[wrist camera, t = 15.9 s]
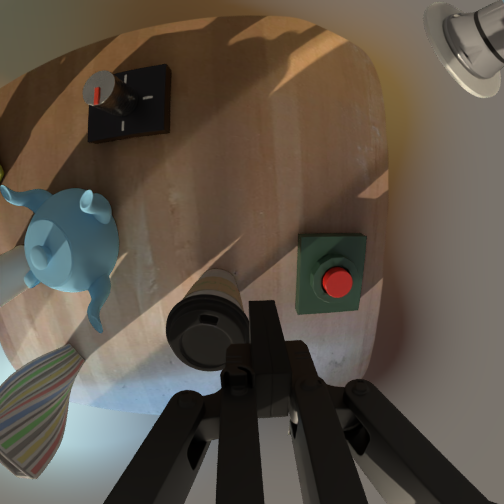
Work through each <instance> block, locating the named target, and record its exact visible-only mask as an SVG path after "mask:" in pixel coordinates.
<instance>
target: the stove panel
mask: <svg viewBox="0 0 504 504" xmlns="http://www.w3.org/2000/svg"><path fill="white" fill-rule="evenodd" d="M113 75H115V76H116V77H118V78H119V79H120V80H122V81H123V82H125V83H126V84H127V85H129V86H130V87H131V88H133V89H134V90H135V91H136V92H137V94H138V103H137V106H136V108H135V109H134V110H133V111H132V112H131V113H130V114H128V115H126V116H122V117H119V116H116V115H113V114H111V113H109V112H106V111H104V110H101V109H99V108H96V107H94V106H91V105H89V117H88V142H89V143H95V144H99V143H104V142H109V141H115V140H121V139H127V138H134V137H141V136H149V135H157V134H166V133H170V90H171V70H170V68H169V67H168V65H167V64H162V65H156V66H150V67H145V68H139V69H134V70H130V71H125V72H121V73H116V74H113Z"/></svg>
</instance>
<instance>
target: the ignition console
mask: <svg viewBox="0 0 504 504" xmlns="http://www.w3.org/2000/svg"><path fill="white" fill-rule="evenodd" d="M366 239H367V236H365V235H363V234H362V233H309V234H298V257H297V283H296V303H295V309H296V311H297V314H298V315H302V314H317V313H331V312H343V311H354V310H358V308H359V301H360V294H361V287H362V279H363V270H364V261H365V251H366ZM334 267H341V268H343V269H345V270H346V271H347V272H348V273H349V274H350V275H351V277H352V281H353V284H352V288H351V290H350V291H349V292H348V293H347V294H346V295H345V296H343V297H339V298H335V297H332V296H330V295H329V294H328V293H327V291H326V290H325V289H324V287H323V277H324V275H325V273H326V272H327V271H328V270H329V269H331V268H334Z"/></svg>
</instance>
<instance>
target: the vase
mask: <svg viewBox="0 0 504 504" xmlns="http://www.w3.org/2000/svg"><path fill="white" fill-rule="evenodd" d="M84 362H85V360H84V359H83V358H82V357H81V356H80V354H79V353H77V352H76V350H75V349H74V348H73V347H72V346H71V345H70V343H69V344H67V345H66V346H63V347H61V348H58V349H56V350H54V351H51V352H49V353H46V354H44V355H42V356H40V357H38V358H36V359H34V360H32V361H31V362H29V363H27V364H26V365H24V366H23V367H21V368H20V369H18V370H17V371H16V372H14V373H13V374H12V375H11V376H9V377H8V379H6V380H5V382H3V383H2V384H1V386H0V463H1V464H2V465H3V466H5V467H6V468H7V469H8V470H9V471H10V472H12V473H13V474H14V475H15V476H16V477H18V478H29V479H37V478H38V477H39V476H40V475H41V473H42V472H43V471H44V470H45V468H46V467H47V465H48V464H49V463H50V461H51V460H52V458H53V457H54V455H55V453H56V452H57V450H58V448H59V446H60V444H61V441H62V438H63V435H64V431H65V425H66V420H67V412H68V405H69V397H70V392H71V388H72V385H73V382H74V380H75V378H76V376H77V374H78V372H79V370H80V369H81V367H82V365H83V364H84Z"/></svg>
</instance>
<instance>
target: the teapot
mask: <svg viewBox="0 0 504 504" xmlns="http://www.w3.org/2000/svg"><path fill="white" fill-rule="evenodd" d="M0 191H1V193H2V195H3V197H4V198H5V199H6V200H7V201H8V202H9V203H11V204H14V205H17V206H25V207H28V208H29V209H31V210H32V211H33V212H34V213H35V215H34V216H33V218H32V220H31V222H30V224H29V227H28V229H27V232H26V236H25V243H24V249H25V255H26V259H27V262H28V265H29V267H30V271H29V272H28V273H27V274H26V275H25V277H24V282H25V284H26V285H27V287H29V288H33V287H35V286H36V285H37V284H39V283H40V282H42V283H43V284H45V285H47V286H49V287H51V288H53V289H57V290H60V291H65V292H81V291H85V290H88V291H89V293H90V295H91V299H92V300H91V302H90V304H89V306H88V310H87V313H88V318H89V321H90V323H91V324H92V326H93V327H94V328H95V330H96V331H98V332H99V333H102V332H103V328H102V324H101V321H100V317H99V313H100V310H101V308H102V306H103V304H104V303H105V301H106V300H107V298H108V296H109V293H110V289H111V283H110V278H109V275H110V273H111V272H112V270H113V268H114V266H115V264H116V261H117V257H118V252H119V237H118V231H117V226H116V223H115V221H114V218H113V216H112V214H111V213H112V211H111V206H110V204H109V202H108V201H107V199H106V198H105V197H104V196H102V195H101V194H98V193H94V194H93V193H92V191H91V190H84V189H80V188H71V189H66V190H62V191H60V192H58V193H56V194H54V195H52V194H51V193H49V192H47V191H45V190H42V189H33V190H29V191H25V192H15V191H12V190H10V189H9V188H7V187H6V186H4V185H1V186H0Z"/></svg>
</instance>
